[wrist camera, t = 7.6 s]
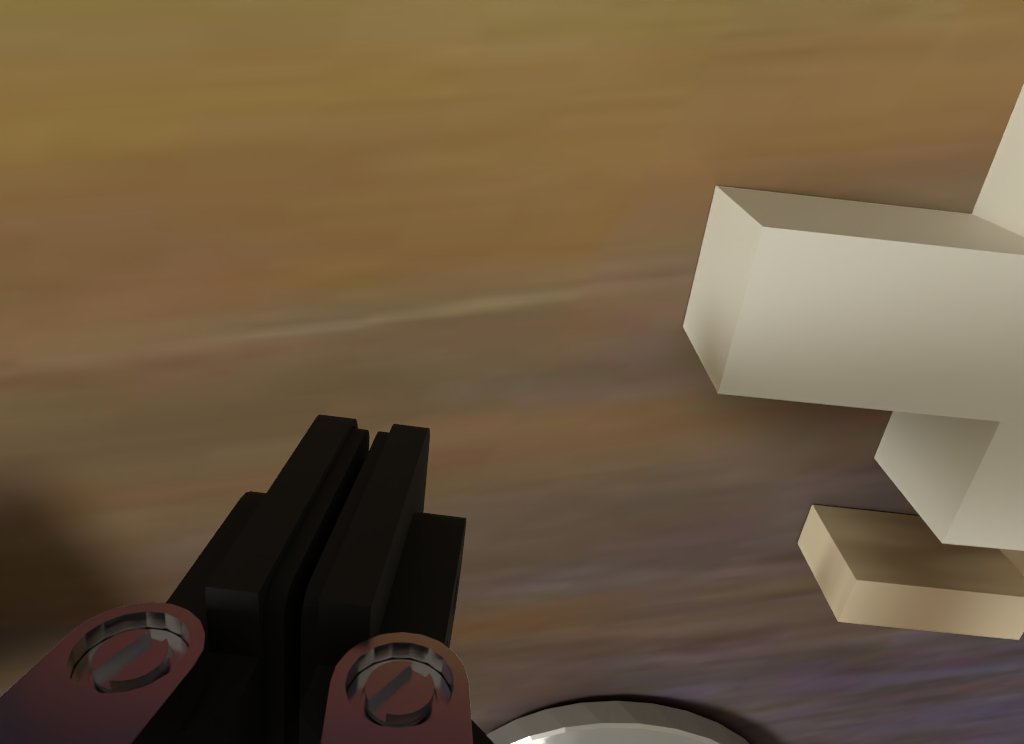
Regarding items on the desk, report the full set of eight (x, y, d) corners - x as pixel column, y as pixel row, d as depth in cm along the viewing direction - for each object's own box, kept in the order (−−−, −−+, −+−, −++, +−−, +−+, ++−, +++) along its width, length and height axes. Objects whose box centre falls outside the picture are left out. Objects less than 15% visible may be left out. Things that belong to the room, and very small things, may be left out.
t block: (1192, 80, 15) (1367, 97, 12) (998, 470, 20) (1089, 556, 16) (752, 27, 15) (815, 31, 12) (657, 436, 19) (683, 519, 16)
